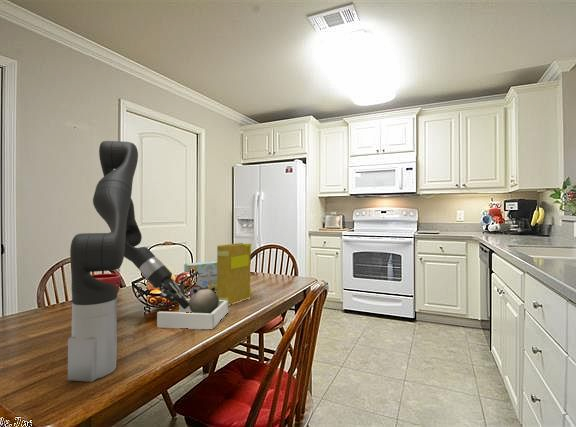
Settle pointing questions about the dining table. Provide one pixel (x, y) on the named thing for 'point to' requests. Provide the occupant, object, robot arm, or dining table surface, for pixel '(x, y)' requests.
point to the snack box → (203, 275)
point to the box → (192, 317)
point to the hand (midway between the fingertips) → (187, 306)
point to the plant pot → (109, 279)
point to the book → (233, 272)
